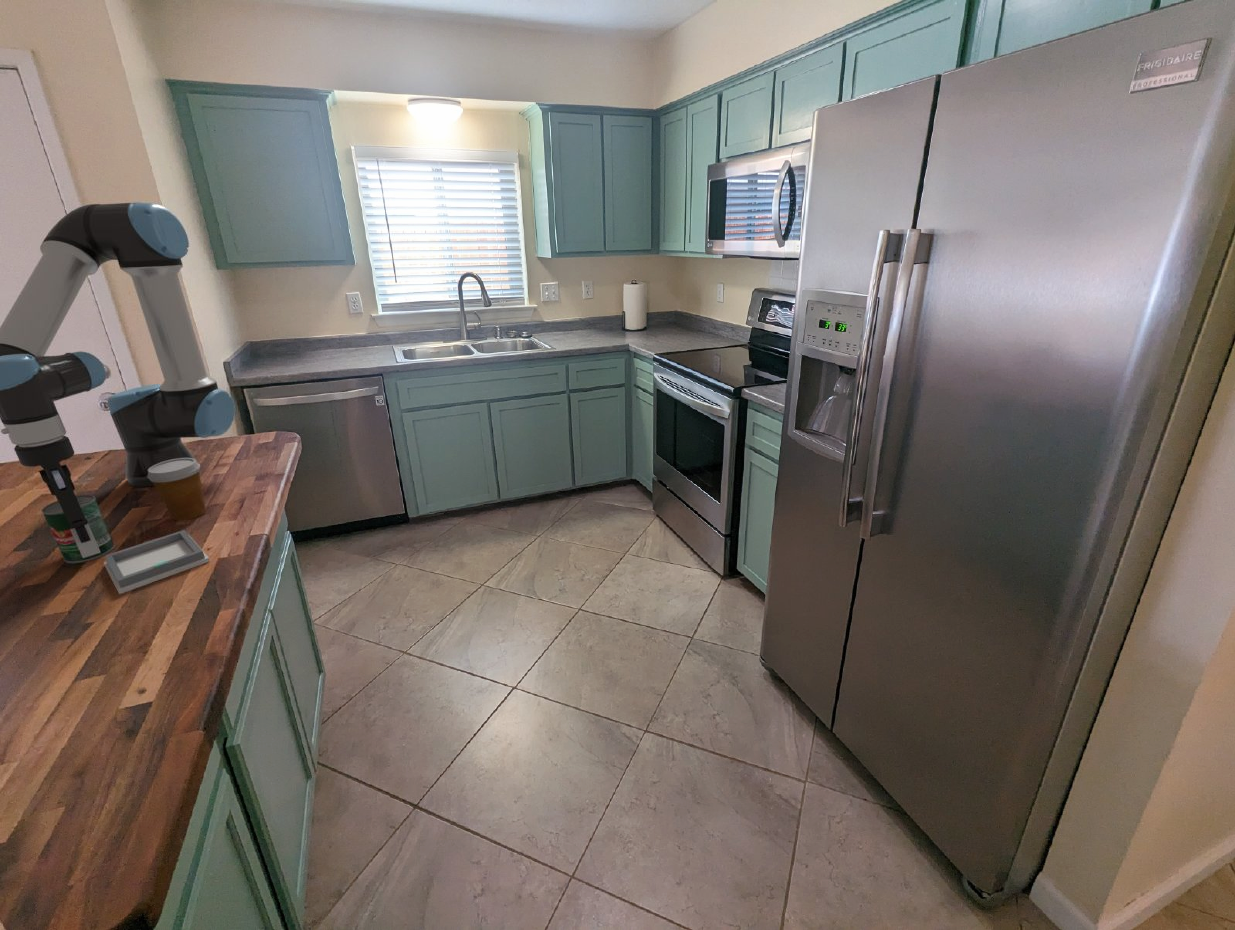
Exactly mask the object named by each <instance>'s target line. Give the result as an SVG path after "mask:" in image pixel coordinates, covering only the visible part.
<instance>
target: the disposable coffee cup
mask: <svg viewBox="0 0 1235 930" xmlns="http://www.w3.org/2000/svg"><path fill="white" fill-rule="evenodd" d="M195 459H196V458H195ZM195 459H193V458H177V459H172V460H167V461H164V462H160V463H158V464H155V465H153V466H152V467H150V468H149V469H148V475H147V478H148V479H150V481H152V482H153V484H154V486H153V487H154V488H155V490H156V491H157V493H158V495H159V496H160V498H161V500H162V503H164V506H165V507H166V509H167V511H168V513H169V515H170V516H171V517H172V520H174V521H186V520H192V519H195V518H198V517H200V516H201V515H202V516H203V514H205V513H206V511H207V508H206V504H205V497H204V490H203V486H202V480H201V472H200V470H201V469H200V468H201V464H200V463H199V462H198V461H196V460H197V459H196V460H195Z"/></svg>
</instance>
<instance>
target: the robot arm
mask: <svg viewBox="0 0 1235 930" xmlns="http://www.w3.org/2000/svg"><path fill="white" fill-rule="evenodd" d="M188 237H189V236H188V234H187V231H186V229H185V227H184V226H183V224H182V222H181V221H180V220H179V219H178V217H177V216H176V215H175V214H173V213H172V212H171V210H169V209H168V208H166V207H164V206H163V205H161V204H158V203H153V202H140V201H137V202H124V203H122V202H121V203H100V204H99V203H91V204H85V205H82V206H79V207H77V208H75V209H74V210H71V211H70V212H68V213H67V214H66V215H64V216H63V217H62V218H61V219H59V221H58V222H57V223H56V224H55V225H53V227H52V228H51V229H50V230H49V231H48V233H47V234H46V236H45V238H44V239H43V241H42V242H41V245H40V247H39V250H40V252H41V254H42V255H41V257H40V259H39V260H38V263H37V264H36V266H35V267H34V269H33V271H32V272H31V274H30V276H29V277H28V279H27V281H26V283H25V284H24V286H23V288H22V290H21V291H20V293H19V295H18V297H17V298H16V300H15V301H14V303H13V305H12V306H11V309H10V310H9V312H8V314H7V315H6V317H5V318H4V320H3V322H2V324H1V325H0V421H1V423H2V424H3V427H4V428H1V429H0V432H1V434H2V435H7V434H8V438H9V440H10V443H11V444H13V445H15V446H14V448H13V450H14V452H15V454H16V456H17V458H18V461H19V462H20V465H22V466H24V467H27V468H28V467H29V468H34V467H35V468H36V467H41V468H42V469H40V470H38V472H39V475H40V476H41V478H42V482H44V483H45V484H46V485H47V488H48V490H49V492H50V494H51V495H52V496H55V497H56V501H59V503H60V506H61V508H62V510H63V512H64V514H65V517H66V519H67V521H68V523H69V525H68V527H65V530H71V533H72V535H73V537H74V539H75V542H76V544H77V546H78V548H79V550H80V553H81V555H82V557H83V558H85V557H88V556H91V555H95V554H98V553H101V552H100V550H99V547H98V545H97V543H96V540H95V538H94V536H93V534H92V531H91V529H90V527H89V524H88V521H87V520H86V519H85V516H84V514H83V512H82V509H81V507H80V505H79V503H78V500H77V498H76V496H77V495H76V494H75V490H76V487H75V485H74V482H73V480H72V478H71V477H72V473H71V471H70V469H69V468H68V466H67V464H63V465H61V462H62V461H65V460H68V459H70V458H72V457H73V456H74V455H75V450H74V447H73V445H72V443H71V441H70V439H69V437H68V436H66V434H67V430H66V428H65V424H64V423H63V420H62V418H61V416H60V414H59V412H58V409H57V407H56V404H55V402H56V401H59V400H62V399H65V398H68V397H72V396H75V395H76V396H77V395H78V394H81V393H84V392H86V393H87V392H90V391H91V390H93V389H96V388H98V387H100V386H102V385H103V384H104V383H105V381H106V378H107V371H106V368H105V366H104V364H103V363H102V361H101V360H100V359H99V358H98V357H96V356H95V355H94V354H92V353H89V352H87V351H82V350H81V351H80V350H79V351H74V352H65V353H64V354H61V355H59V354H58V355H46V354H47V352H48V350H49V348H50V346H51V345H52V343H53V341H54V338H55V337H56V335H57V333H58V331H59V329H60V328H61V325H62V323H63V322H64V320H65V318H66V316H67V314H68V312H69V311H70V309H71V307H72V305H73V303H74V302H75V299H76V298H77V296H78V294H79V292H80V291H81V288H82V286H83V284H84V283H85V281H86V279H87V277H88V276H93V275H95V274H97V272H98V270H99V268H100V267H101V265H103V264H104V263H107V262H110V261H114V260H115V261H117V263H118V266H119V269H120V270H121V271H123V272H125V274H127V275H129V276H130V277H131V279H132V282H133V285H134V288H135V292H136V294H137V298H138V301H139V304H140V308H141V311H142V313H143V318H144V319H145V323H146V326H147V331H148V332H149V333H148V334H149V336H150V339H151V342H152V344H153V348H154V352H155V355H156V357H157V360H158V364H159V367H160V371H161V373H162V376H163V379H164V381H163V382H162V384H159V383H157V384H155V383H154V384H148V385H144V386H138V387H134V388H130V389H127V390H123V391H120V392H117V393H114V394H113V395H111V396H110V397H109V398H108V399H107V406H108V409H109V414H110V416H111V418H112V421H113V423H114V426H115V428H116V430H117V433H118V436H119V438H120V441H121V444H122V446H123V448H124V451H125V454H126V458H125V459H126V460H125V462H126V463H125V478H126V479H127V482H128V485H130V486H133V487H138V488H142V487H143V488H145V487H155V486H154V484H153V482H152V481H150V479H148V478H147V475H148V469H149V468H150V467H152V466H153V465H155V464H158V463H160V462H164V461H167V460H172V459H177V458H193V459H195V460H196V461H197V458H196V457H195V456H194V455H193V454H192V453H191V451H190V449H189V448H188V447H187V446H186V445H185V443H183V441H182V439H183V438H184V439H185V438H201V439H205V438H206V439H207V438H211V437H212V438H213V437H219V436H222V435H224V434H226V433H227V432H228V431H229V429H230V428H231V427H232V425H233V422H234V419H235V414H236V406H235V402H234V399H233V397H232V395H231V394H229V393H228V391H226V390H223V389H219V386H218V382H217V380H216V379H215V378H213V377H211V376H210V375H208V374H207V370H206V368H205V363H204V360H203V357H202V354H201V350H200V347H199V343H198V340H197V336H196V333H195V330H194V325H193V323H192V319H191V317H190V316H191V315H190V312H189V309H188V306H187V303H186V302H187V301H186V300H185V296H184V291H183V289H182V288H183V287H182V286H181V282H180V279H179V272H180V271H181V270H182V268H184V265H183V261H182V258H184V257H185V256H186V255H187V254H188V252H189V247H190V242H189V241H190V240H189V238H188ZM45 355H46V356H45ZM181 438H182V439H181ZM197 462H198V461H197ZM80 519H81V520H80ZM76 520H77V521H76ZM73 521H74V522H73Z"/></svg>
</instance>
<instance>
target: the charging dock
mask: <svg viewBox="0 0 1235 930" xmlns="http://www.w3.org/2000/svg"><path fill="white" fill-rule="evenodd" d="M103 556H104V559H105V561H104V562H103V566H104V567H105V570H106V572H107V573H108V575H109V577H110V579H111V581H112V583H113V585H114V587H115V589H116V590H117V592H118V594H119V595H122V594H125V593H128V592H130V591H133V590H135V589H138V588H141V587H144V586H146V585H149V584H152V583H154V582H157V581H159V580H162V579H165V578H168V577H170V576H171V577H172V576H173V575H176V574H179V573H182V572H185V571H187V570H190V569H192V568H195V567H198V566H201V565H205V564H206V563H209V562H211V561H210V558H209V556H208V555H207V554H206V553H205V552H204V550H203V549H202V548H201V547H200V546H199V545H198V544H197V542H196V541H195V540H194V539H193V538H192V537H191V535H190V534H188V532H187V531H186V530H185V529H182V530H179V531H177V532H173V533H170V534H167V535H164V536H161V537H158V538H155V539H152V540H149V541H145V542H143V543H140V544H136V545H133V546H131V547H127V548H124V549H120V550H119V551H115V552H112V553H107V554H105V555H103Z"/></svg>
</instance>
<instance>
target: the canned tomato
mask: <svg viewBox="0 0 1235 930" xmlns="http://www.w3.org/2000/svg"><path fill="white" fill-rule="evenodd" d="M75 496H76V498H77V500H78V503H79V505H80V507H81V509H82V512H83V514H84V516H85V519H86V520H87V521H88V524H89V527H90V529H91V531H92V534H93V536H94V538H95V540H96V543H97V545H98V547H99V550H100V552H101V553H98V554H95V555H91V556H88V557H85V558H83V557H82V555H81V553H80V550H79V548H78V546H77V544H76V542H75V539H74V537H73V535H72V533H71V530H65V527H68V525H69V523H68V521H67V519H66V517H65V514H64V512H63V510H62V508H61V506H60V503H59V501H58V500H56V501H54V502H51V503H49V504H47V505H45V506H44V507H43V508H41V509H42V510H41V513H42V515H43V516H44V518H45V521H46V523H47V525H48V527H49V529H50V531H51V533H52V536H53V538H54V541H55V542H56V546H57V547H58V549H59V551H60V554H61V556H62V557H63V560H64V562H65V563H68V564H79V563H84V562H85V563H86V562H89V561H92V560H95V559H98V558H100V557H103V556H105V555H108V554H110V552H111V551H113V549H114V548H115V546H116V545H115V542H114V540H113V538H112V536H111V533H110V531H109V528H108V526H107V524H106V521H105V518H104V516H103V514H102V512H101V509H100V507H99V504H98V502H97V499H96V497H95V496H94V495H93V494H92V495H91V494H80V495H75ZM80 520H81V519H80ZM76 521H77V520H76ZM73 522H74V521H73Z"/></svg>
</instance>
